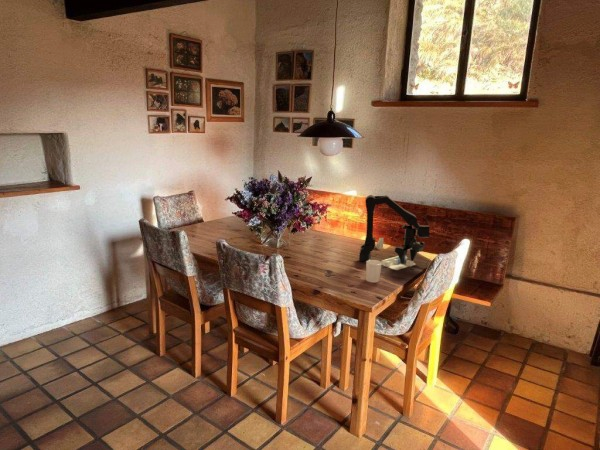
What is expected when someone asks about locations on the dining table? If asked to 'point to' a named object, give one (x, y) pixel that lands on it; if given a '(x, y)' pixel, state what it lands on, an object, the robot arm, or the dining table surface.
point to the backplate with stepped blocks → (394, 263)
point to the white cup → (373, 270)
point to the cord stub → (408, 262)
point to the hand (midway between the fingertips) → (407, 262)
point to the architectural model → (380, 243)
